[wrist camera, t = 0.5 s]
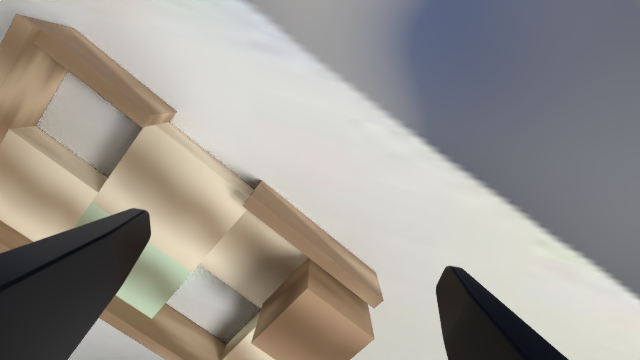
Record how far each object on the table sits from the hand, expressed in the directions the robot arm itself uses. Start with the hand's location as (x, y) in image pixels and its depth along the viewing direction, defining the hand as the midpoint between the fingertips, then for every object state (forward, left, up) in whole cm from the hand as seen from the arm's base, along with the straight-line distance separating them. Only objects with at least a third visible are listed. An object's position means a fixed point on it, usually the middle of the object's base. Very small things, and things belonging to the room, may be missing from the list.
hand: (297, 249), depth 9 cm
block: (-9, -8, -12) cm, 17 cm away
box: (-13, +3, -14) cm, 19 cm away
